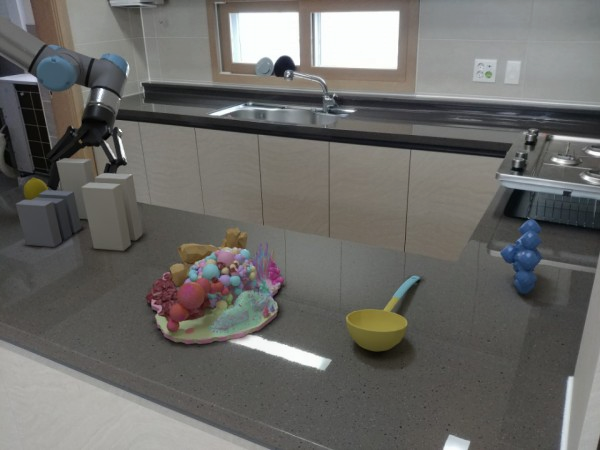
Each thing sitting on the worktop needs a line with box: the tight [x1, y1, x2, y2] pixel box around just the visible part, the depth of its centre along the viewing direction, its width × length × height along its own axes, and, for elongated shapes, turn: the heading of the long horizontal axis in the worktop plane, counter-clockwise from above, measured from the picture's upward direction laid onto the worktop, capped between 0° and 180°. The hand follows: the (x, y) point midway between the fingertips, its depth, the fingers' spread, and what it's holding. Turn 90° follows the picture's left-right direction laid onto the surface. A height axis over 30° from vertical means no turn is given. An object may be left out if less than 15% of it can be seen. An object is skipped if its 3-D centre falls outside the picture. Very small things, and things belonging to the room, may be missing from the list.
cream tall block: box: [56, 157, 96, 220], centre depth 126 cm, size 3×7×14 cm, turn 77°
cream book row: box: [81, 172, 143, 252], centre depth 112 cm, size 8×7×14 cm
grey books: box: [15, 189, 82, 248], centre depth 117 cm, size 10×7×9 cm
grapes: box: [499, 218, 544, 295], centre depth 91 cm, size 12×7×12 cm, turn 160°
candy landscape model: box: [145, 227, 285, 345], centre depth 90 cm, size 25×24×9 cm
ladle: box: [345, 275, 421, 352], centre depth 85 cm, size 9×26×6 cm, turn 153°
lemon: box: [23, 177, 49, 200], centre depth 133 cm, size 6×6×8 cm
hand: (77, 189), depth 125 cm, fingers open, 13 cm apart
